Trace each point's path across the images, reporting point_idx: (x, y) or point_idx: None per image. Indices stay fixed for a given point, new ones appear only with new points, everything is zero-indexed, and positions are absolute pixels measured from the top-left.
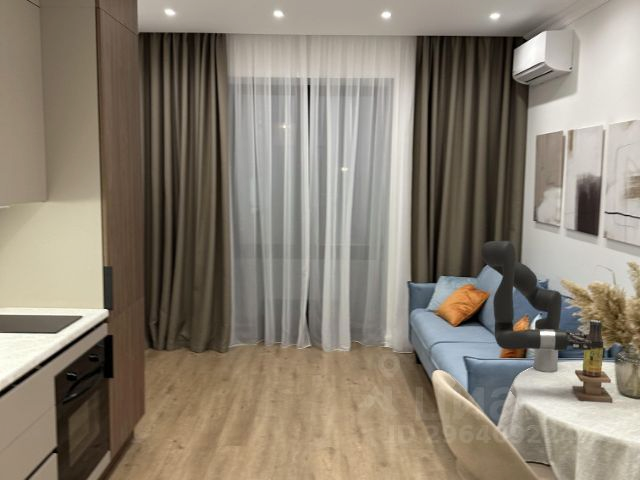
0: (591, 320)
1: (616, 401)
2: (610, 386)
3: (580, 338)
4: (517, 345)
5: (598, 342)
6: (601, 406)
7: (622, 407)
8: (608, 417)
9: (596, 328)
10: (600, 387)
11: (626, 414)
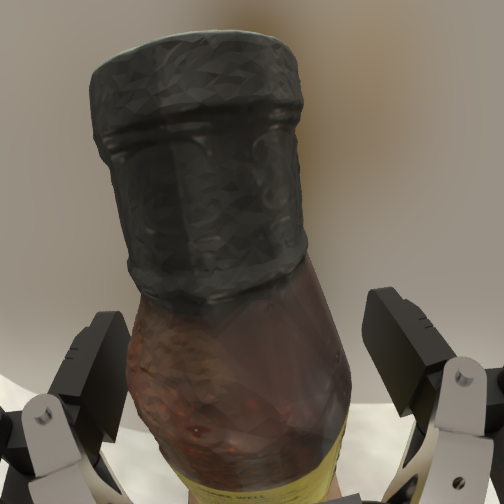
0: (167, 42)
1: None
2: (144, 435)
3: (473, 497)
4: None
5: (408, 313)
6: (377, 489)
7: (356, 432)
8: None
9: (297, 165)
10: None
11: (411, 420)
